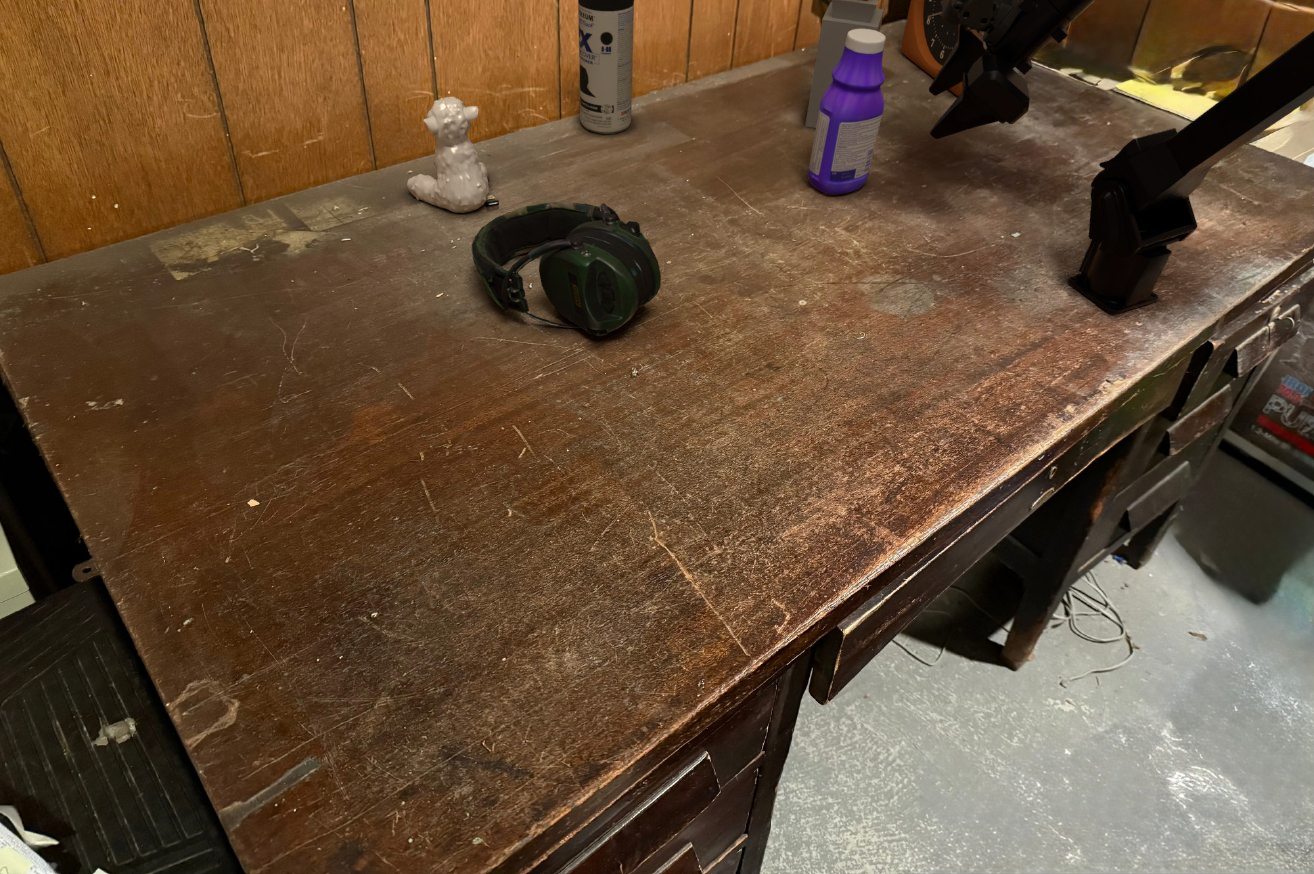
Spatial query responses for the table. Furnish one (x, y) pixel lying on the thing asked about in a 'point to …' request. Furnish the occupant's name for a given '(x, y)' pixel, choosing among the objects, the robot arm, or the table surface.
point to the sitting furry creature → (452, 160)
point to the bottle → (849, 116)
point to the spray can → (605, 64)
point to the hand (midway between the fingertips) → (932, 114)
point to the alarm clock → (930, 38)
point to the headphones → (570, 263)
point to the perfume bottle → (838, 43)
